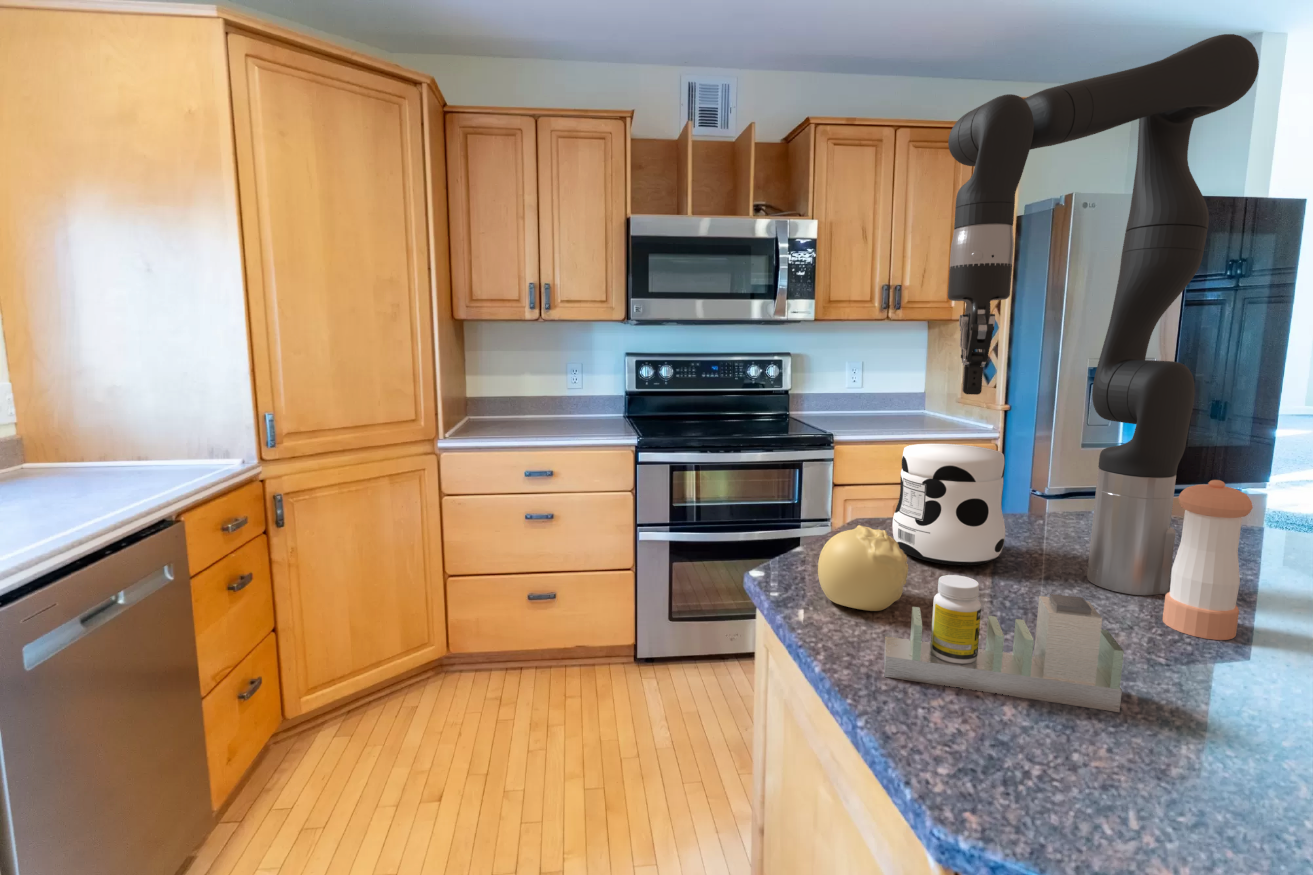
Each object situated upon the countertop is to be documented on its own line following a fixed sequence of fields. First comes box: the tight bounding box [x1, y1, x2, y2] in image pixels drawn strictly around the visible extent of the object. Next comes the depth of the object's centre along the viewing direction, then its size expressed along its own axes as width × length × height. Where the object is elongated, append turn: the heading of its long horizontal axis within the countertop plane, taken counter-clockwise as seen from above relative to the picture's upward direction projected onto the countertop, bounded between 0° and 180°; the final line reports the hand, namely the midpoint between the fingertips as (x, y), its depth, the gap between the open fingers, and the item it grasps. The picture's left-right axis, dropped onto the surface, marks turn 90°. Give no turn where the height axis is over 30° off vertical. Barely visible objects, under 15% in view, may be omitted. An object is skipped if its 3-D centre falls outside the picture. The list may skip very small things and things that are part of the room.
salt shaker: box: [1162, 479, 1254, 641], centre depth 83 cm, size 7×7×19 cm
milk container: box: [892, 443, 1006, 566], centre depth 110 cm, size 17×17×18 cm
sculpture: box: [817, 524, 909, 612], centre depth 92 cm, size 12×12×11 cm
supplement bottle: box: [930, 574, 982, 664], centre depth 72 cm, size 5×5×8 cm
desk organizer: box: [883, 593, 1125, 713], centre depth 70 cm, size 22×5×10 cm, turn 72°
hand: (971, 393), depth 90 cm, fingers closed
